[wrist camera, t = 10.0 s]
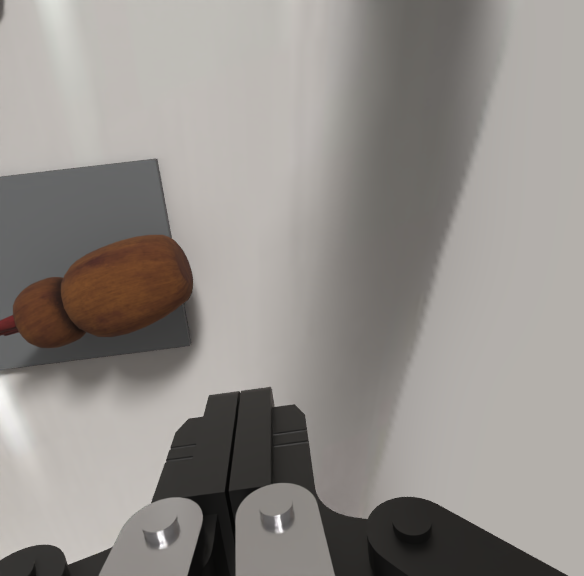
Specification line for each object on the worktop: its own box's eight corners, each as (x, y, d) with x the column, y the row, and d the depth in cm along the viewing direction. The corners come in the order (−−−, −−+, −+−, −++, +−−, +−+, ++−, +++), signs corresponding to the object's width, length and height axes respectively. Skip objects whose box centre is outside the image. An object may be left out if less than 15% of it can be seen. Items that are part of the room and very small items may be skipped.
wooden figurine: (153, 231, 26) (-85, 320, 27) (193, 319, 28) (-32, 402, 28) (175, 217, 33) (-17, 289, 33) (206, 289, 34) (23, 357, 35)
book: (157, 158, 32) (154, 158, 32) (191, 342, 36) (189, 346, 35) (-74, 185, 32) (-80, 185, 31) (-15, 369, 36) (-20, 372, 35)
